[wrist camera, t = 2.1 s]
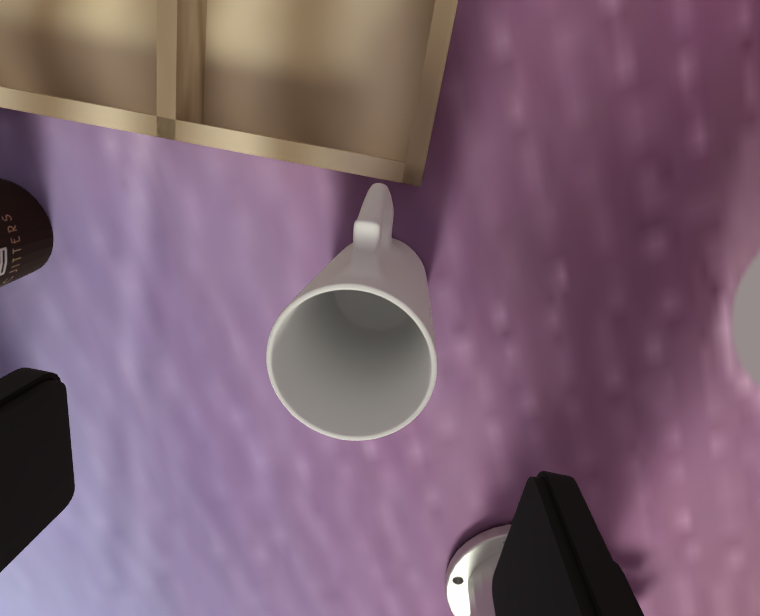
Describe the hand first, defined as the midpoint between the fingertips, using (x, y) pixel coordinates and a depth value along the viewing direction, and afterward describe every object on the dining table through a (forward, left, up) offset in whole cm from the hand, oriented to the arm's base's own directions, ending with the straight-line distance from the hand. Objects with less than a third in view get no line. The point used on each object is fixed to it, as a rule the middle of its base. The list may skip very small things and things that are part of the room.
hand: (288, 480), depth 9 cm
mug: (0, 0, -20) cm, 20 cm away
